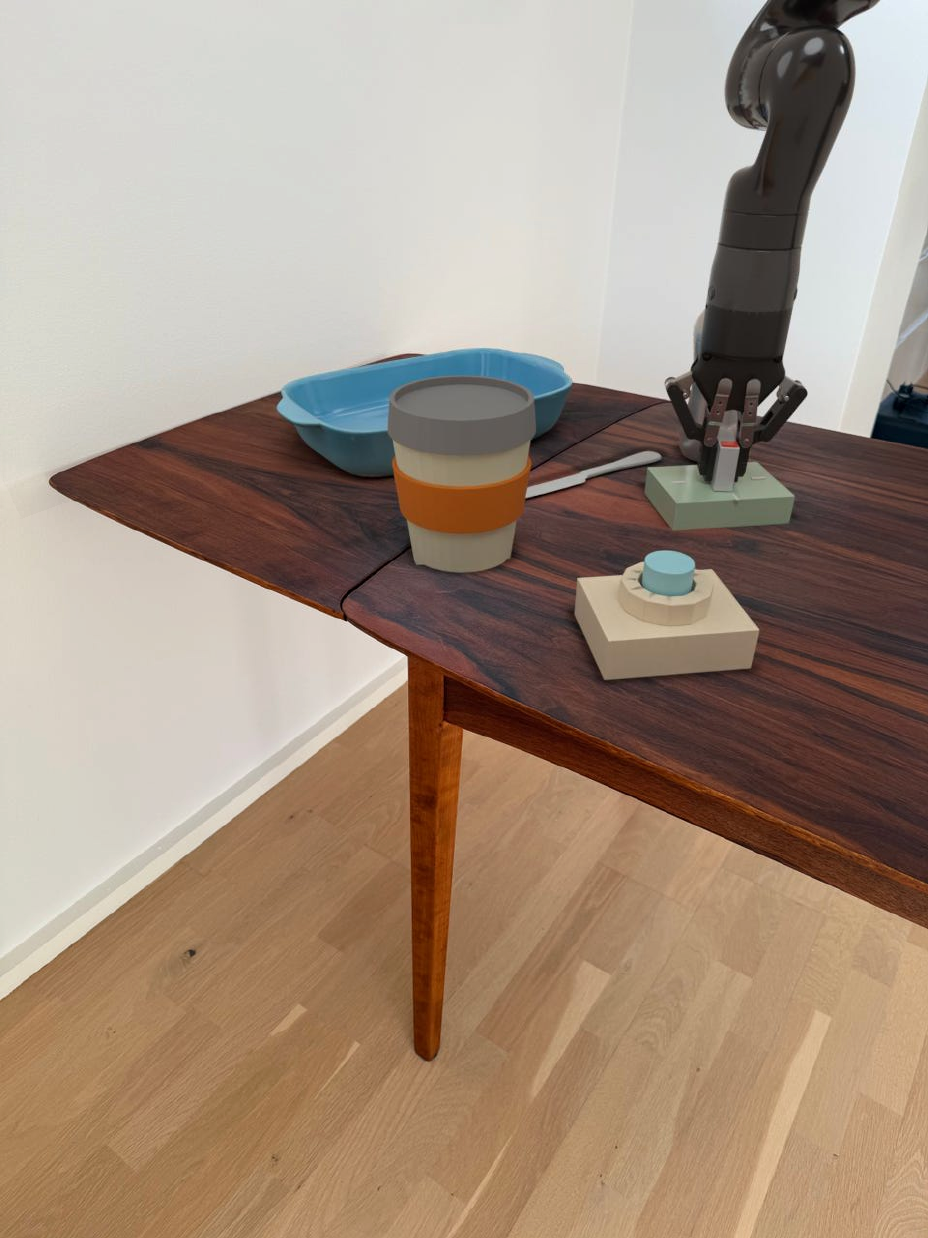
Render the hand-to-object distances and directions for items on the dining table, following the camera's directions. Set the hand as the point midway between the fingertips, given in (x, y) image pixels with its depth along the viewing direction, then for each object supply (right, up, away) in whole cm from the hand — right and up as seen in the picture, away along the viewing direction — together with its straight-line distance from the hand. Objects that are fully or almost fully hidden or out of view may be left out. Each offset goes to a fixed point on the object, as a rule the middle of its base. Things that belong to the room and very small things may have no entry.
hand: (719, 478), depth 85 cm
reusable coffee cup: (-26, -9, -7) cm, 28 cm away
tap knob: (0, 0, 0) cm, 0 cm away
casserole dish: (-30, +8, +19) cm, 36 cm away
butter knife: (-13, +1, +8) cm, 15 cm away
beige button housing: (-11, -17, -20) cm, 28 cm away
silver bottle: (+2, +4, +13) cm, 14 cm away
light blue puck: (-11, -12, -23) cm, 28 cm away
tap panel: (0, -3, +2) cm, 3 cm away
